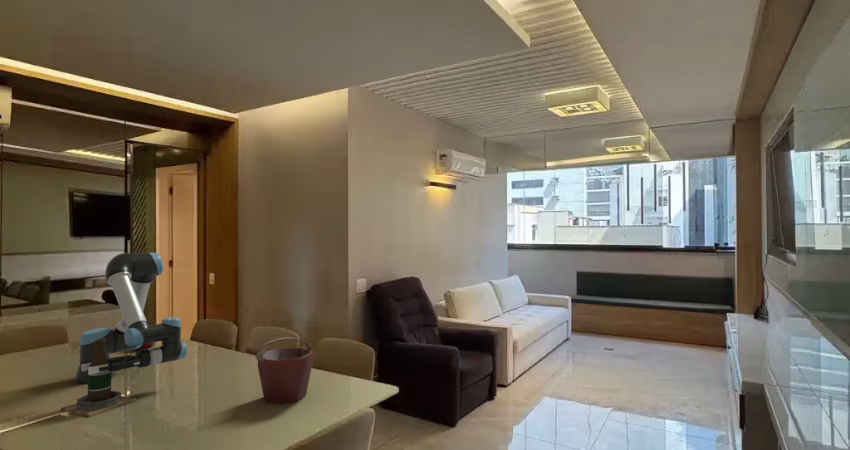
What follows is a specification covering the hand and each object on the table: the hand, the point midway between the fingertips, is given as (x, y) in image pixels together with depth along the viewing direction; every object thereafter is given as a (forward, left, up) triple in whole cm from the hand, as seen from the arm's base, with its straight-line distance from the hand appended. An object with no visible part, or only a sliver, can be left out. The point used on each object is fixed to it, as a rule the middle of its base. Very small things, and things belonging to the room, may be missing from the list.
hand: (85, 369), depth 181 cm
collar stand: (+1, +5, -16) cm, 16 cm away
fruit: (-70, +75, -16) cm, 103 cm away
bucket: (+64, +41, -16) cm, 78 cm away
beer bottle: (+1, +5, -13) cm, 14 cm away
